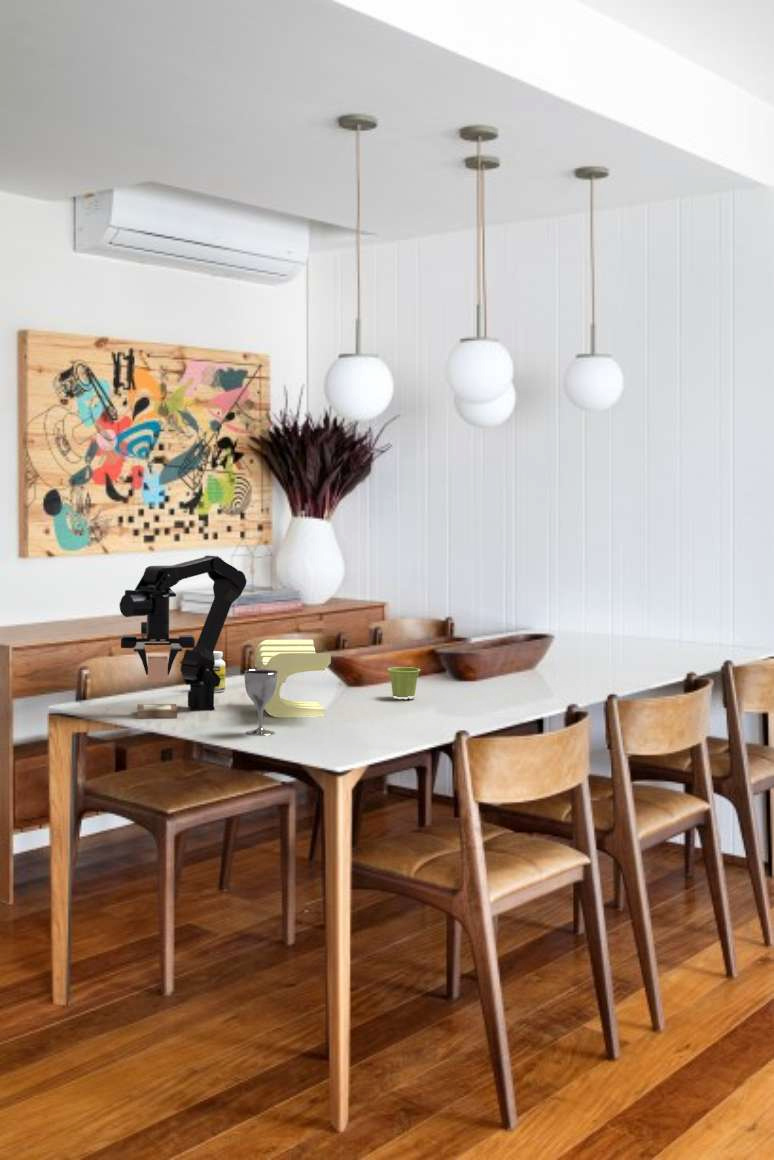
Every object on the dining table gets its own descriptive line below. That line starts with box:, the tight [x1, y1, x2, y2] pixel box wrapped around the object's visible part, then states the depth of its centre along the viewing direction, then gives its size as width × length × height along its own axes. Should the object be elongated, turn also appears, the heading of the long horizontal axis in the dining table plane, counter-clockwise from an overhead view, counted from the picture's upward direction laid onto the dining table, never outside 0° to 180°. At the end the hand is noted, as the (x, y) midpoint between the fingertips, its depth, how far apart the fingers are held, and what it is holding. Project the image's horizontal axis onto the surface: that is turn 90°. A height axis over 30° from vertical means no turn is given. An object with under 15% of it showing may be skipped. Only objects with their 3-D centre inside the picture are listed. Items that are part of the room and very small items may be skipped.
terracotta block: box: [147, 655, 169, 683], centre depth 335 cm, size 5×5×6 cm
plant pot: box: [387, 666, 421, 697], centre depth 371 cm, size 9×9×9 cm
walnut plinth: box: [136, 703, 178, 719], centre depth 336 cm, size 10×10×2 cm
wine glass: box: [244, 668, 278, 737], centre depth 313 cm, size 8×8×15 cm
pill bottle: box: [213, 650, 226, 694], centre depth 377 cm, size 6×6×12 cm
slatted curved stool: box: [254, 639, 332, 718], centre depth 343 cm, size 30×16×18 cm, turn 12°
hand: (157, 674), depth 335 cm, fingers closed on terracotta block, 5 cm apart
